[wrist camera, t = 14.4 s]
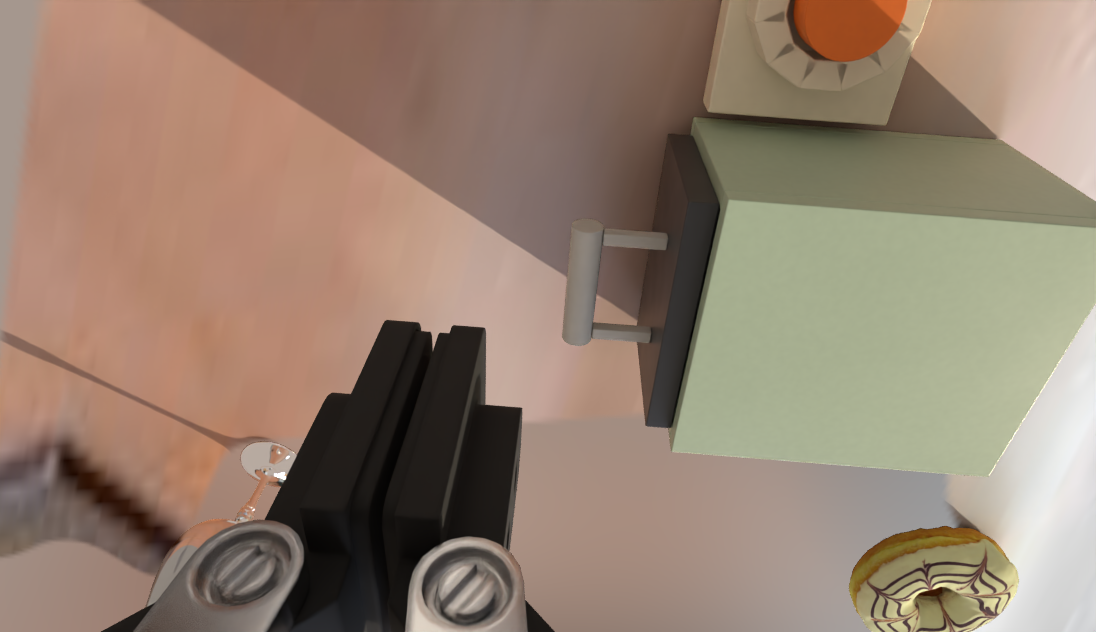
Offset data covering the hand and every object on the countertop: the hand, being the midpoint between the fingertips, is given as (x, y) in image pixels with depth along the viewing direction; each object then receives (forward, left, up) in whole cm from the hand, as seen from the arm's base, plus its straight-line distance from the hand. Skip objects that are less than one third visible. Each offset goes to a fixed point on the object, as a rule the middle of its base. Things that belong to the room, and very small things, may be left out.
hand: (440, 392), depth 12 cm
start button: (-4, +12, -20) cm, 24 cm away
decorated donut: (+33, +30, -23) cm, 50 cm away
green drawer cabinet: (+8, +15, -23) cm, 29 cm away
